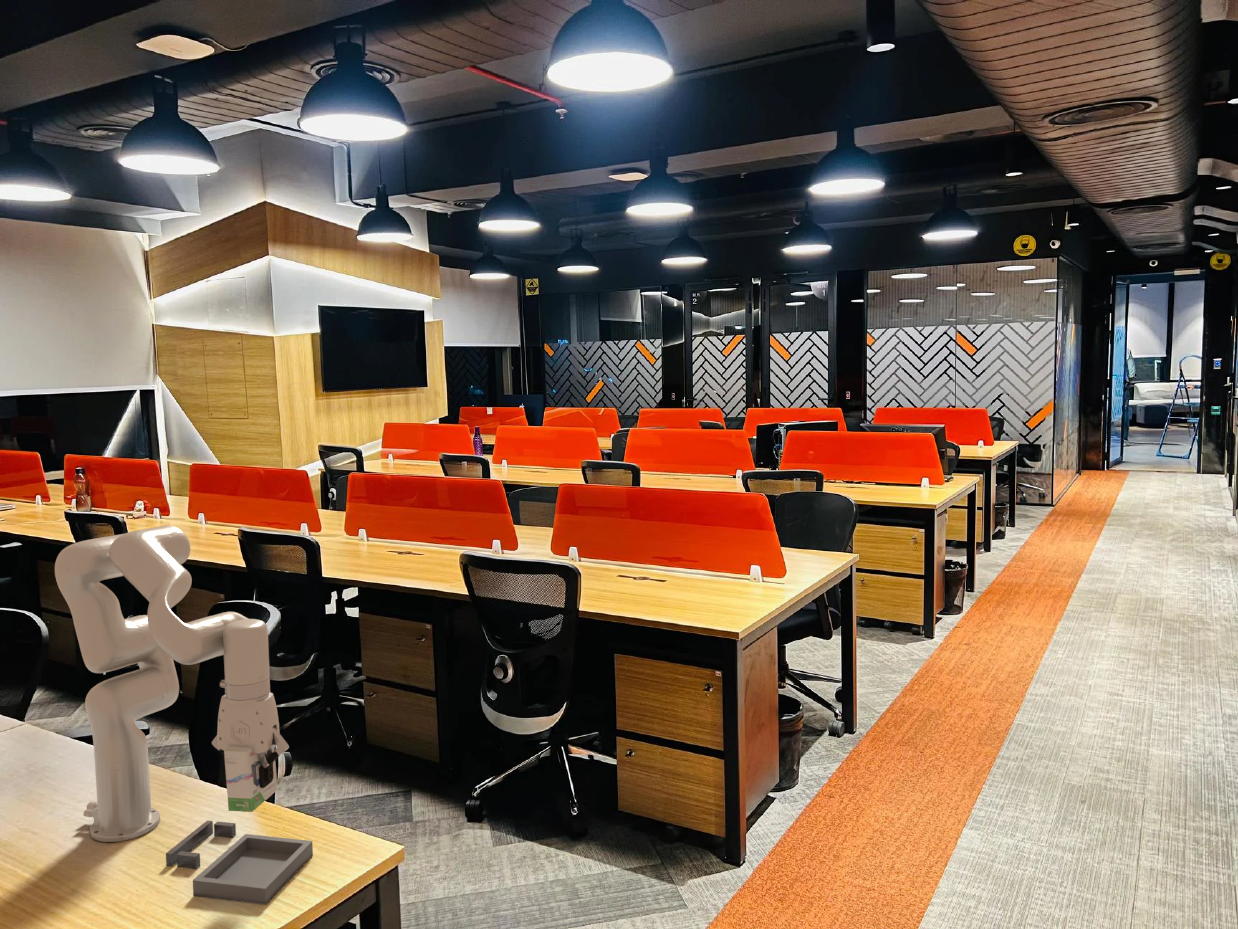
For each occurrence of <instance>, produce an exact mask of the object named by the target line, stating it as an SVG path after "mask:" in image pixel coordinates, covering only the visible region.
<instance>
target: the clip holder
mask: <svg viewBox="0 0 1238 929" xmlns="http://www.w3.org/2000/svg"><path fill="white" fill-rule="evenodd" d="M213 823H214V822H213V820H206V821H204V822H203V823H202V824H201V825H200V826H198V827H197V828H196V829H195V830H193V831H191V833H190V834H188V835H187V836H186V837H184V838H183V839H182V840H181V841H179V842H178V843H176V845H174V846H173V847H172V848H171V849H169V850H168V851H167V852H166V853H165V866H166V867H174V866H175V865H176V866H177V868H181V867H183V868H182V869H188V870H189V869H192V870H197V869H198V868H200V867H201V853H199V852H191V851H193V850H195V848H197V845H198V844H199V845H200V844H201V843H202V842H204V841H205V840H206V839H207V838H209V836H211V835H212V834H213V833H214V834H213V835H214V837H219V838H227V839H233V838H234V837H236V836H237V831H236V830H237V828H236V827H237V825H236V822H235V823H234V822H226V821H216V822H215V823H214V824H213ZM203 840H204V841H203ZM199 845H198V846H199ZM192 849H193V850H192Z"/></svg>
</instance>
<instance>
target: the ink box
mask: <svg viewBox="0 0 1238 929" xmlns="http://www.w3.org/2000/svg"><path fill="white" fill-rule="evenodd" d="M272 747H273V750H274V751H275V745H272ZM266 754H267V753H266ZM224 756H225V758H224V766H225V767H224V770H225V780H226V793H227V794H226V795H227V804H228V807H227V808H228V810H227V811H229V812H244V813H246V812H247V813H253V812H254V811H255V810H257V808H258V807H259V806H261V805H262V804H263V803H265V801H266V800H268V799H269V798H270V797H272V795H273V794H274V793H277V791H278V778H277V777H278V776H277V767H276V766H277V765H276V760H275V761H274V762H273V780H272V782H271V783H270V784H268V785H267V786H266V787H265V788H261V787H260V781H259V768H260V767H261V766H262V764H261V761H260V758H259V755H258V754H253V753H252V748H245V747H235V746H227V747H226V748H225V750H224ZM267 757H268V756H267Z"/></svg>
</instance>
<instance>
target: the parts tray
mask: <svg viewBox="0 0 1238 929" xmlns="http://www.w3.org/2000/svg"><path fill="white" fill-rule="evenodd" d="M313 849H314V848H313V840H307V839H306V840H305V839H299V838H298V839H296V838H287V837H280V836H268V835H259V834H251V833H250V834H249V833H244V835H243V836H241V837H240V838H238V840H237V841H236V842H235V843H234V844H232V845H231V846H230V847H229V848H228V849H226V850H225V851H224V852H223V853H222V854H221V855H220V856H218V858H216V859H215V860H214V861H213V862H211V864H210V865H208V866H206V868H205V869H204V870H202V871H201V872H200V873H199V874H197V875H196V877H194V879H192V894H193V897H199V898H205V897H206V898H205V899H215V900H222V901H230V902H231V901H232V902H241V903H249V904H255V905H256V904H257V905H264V906H266V905H267V904H268V903H269V902H271V901H272V899H273V898H274V897H275V896H276V895H277V894H278V893H279V892H280V891H281V890H282V889H283V888H284V886H285V885H286V884H287V883H289V881H290V880H291V879H292V878H293V877H294V876H295V875H296V874H297V873H298V872H299V871H300V870H301V869H302V868H303V867H304V866H305V864H307V862H308V861H309V860H310V859H311V858H312V857H313V856H314V853H313V852H314V850H313Z"/></svg>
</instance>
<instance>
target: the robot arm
mask: <svg viewBox="0 0 1238 929" xmlns="http://www.w3.org/2000/svg"><path fill="white" fill-rule="evenodd" d="M190 554H191V543H190V540H189V538H188V536H187V534H185V532H183V530H181V529H180V528H178V527H177V526H173V525H161V526H156V527H155V526H154V527H149V528H144V529H143V528H142V529H138V530H133V531H129V532H126V533H121V534H115V535H109V536H103V537H97V538H92V539H86V540H81V541H78V542H75V543H72V544H70V545H68V546H66V547H64V548H63V549H62V550H61V551H60V552H59V553H58V555H57V557H56V560H55V563H54V577H55V579H56V580H55V581H56V583H57V586H58V589H59V591H60V593H61V595H62V596H63V598H64V600H65V601H66V603H67V605H68V608H69V610H70V614H71V616H72V620H73V622H72V623H73V626H74V629H75V633H76V634H75V635H76V637H77V640H78V644H79V645H78V646H79V649H80V653H81V658H82V660H83V663H84V665H85V667H86V668H87V669H88V671H90V672H91V673H94V674H104V673H108V672H113V671H117V670H120V669H123V668H125V667H130V666H131V665H133V666H134V665H135V664H138V667H139V669H136V670H133V671H129V672H126V673H123V674H120V675H115V676H113V677H111V678H108V679H105V680H103V681H101V682H99V683H97V684H96V685H95V686H93V687H92V688H90V690H89V691H88V693H87V694H86V697H85V702H84V705H85V706H84V707H85V711H86V716H87V718H88V721H89V725H90V729H91V735H92V741H93V742H92V744H93V756H94V767H95V784H96V785H95V786H96V799H97V800H96V801H90V802H88V803H87V805H86V809H85V810H84V811H83V814H82V815H83V817H85V818H86V817H87V818H93V823H92V824H91V825H90V828H89V832H90V833H89V835H90V837H91V838H92V839H94V840H96V841H98V842H101V843H103V842H104V843H118V842H124V841H127V840H131V839H135V838H137V837H138V838H139V837H140V836H142V835H146V834H147V833H149V832H150V831H152V830H153V829H155V828H156V827H157V826H158V824H159V823H160V821H161V813H160V812H159V810H158V809H155V808H153V807H152V798H151V797H152V796H151V781H150V761H149V747H148V746H149V745H148V738H147V737H146V735H145V732H143V731H142V730H141V729H140V728H139V727H138V726H137V725H136V722H137V720H140V719H141V718H144V717H146V716H149V715H151V714H154V713H156V712H159V711H162V710H165V709H167V708H169V707H170V706H172V705H173V704H174V703H176V701H177V699H178V697H179V692H180V684H179V683H180V682H179V678H178V674H177V670H176V666H175V662H177V663H179V664H181V665H187V666H188V665H189V666H190V665H196V664H198V663H202V662H205V661H208V660H210V659H211V660H212V659H214V658H217V657H221V656H223V664H224V665H223V667H224V679H221V680H220V682H219V687H220V688H223V689H224V695H222V696H221V698H220V703H219V708H218V714H217V730H216V731H217V732H216V736H215V737H214V738H213V740H212V741H211V745H212V746H213V747H214V748H215V749H217V751H219V754H220V755H221V756H222V757H223V758H224V759H225V756H224V750H225V748H226V747H227V746H235V747H245V748H252V753H253V754H258V755H259V758H260V761H261V764H262V766H261V767H260V768H259V781H260V787H261V788H265V787H266V786H267V785H268V784H270V783H271V782H272V780H273V762H274V761H275V762H276V760H277V759H278V758H279V757H280V756H282V754H283V753H285V752H286V751H287V750H288V749H289V748H290V746H289V744H288V742H287V741H286V740H285V739H284V737H283V736H282V735H281V733H280V722H279V715H278V714H279V713H278V708H277V704H276V700H275V699H276V698H275V696H274V693H273V692H271V683H270V682H271V681H270V680H271V679H270V678H271V677H270V655H269V654H270V651H269V650H270V649H269V629H268V626H267V624H266V623H265V621H264V620H260V619H256V618H248V617H246V616H244V615H243V614H241V613H239V612H235V611H226V612H224V611H223V612H221V613H217V614H214V615H209V616H205V617H202V618H199V619H195V620H192V621H189V622H183V621H182V620H181V619H180V618H179V616H177V615H176V614H175V613H174V612H173V611H172V608H173V607H175V606H176V605H177V604H178V603H180V601H182V600H183V599H184V597H186V595H187V594H188V592H189V591H190V589H191V587H192V581H193V580H192V575H191V574H190V572H189V571H188V569H186V568H185V567H184V566H183V564H184V563H185V562H186V561H187V560H188V559H189V556H190ZM120 577H124V578H125V579H126V580H127V581H128V582H129V583H130V584H131V585H132V586H134V588H135V589H136V591H138V592H139V593H140V594H141V595H142V596H143V597H144V598H145V599H146V600H147V602H148V603H149V604H148V607H147V613H146V614H143V615H141V614H140V615H136V616H131V617H127V618H124V615H123V613H122V610H121V605H120V601H119V599H118V597H117V596H116V595H115V593H114V592H113V591H112V590H111V589H109V587H107V586H106V585H105V584H103V583H101V581H104V580H109V579H110V580H111V579H114V578H120ZM174 661H175V662H174ZM272 745H274V746H275V747H276V749H274V750H273V747H272ZM266 753H267V754H266ZM267 756H268V757H267Z"/></svg>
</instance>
